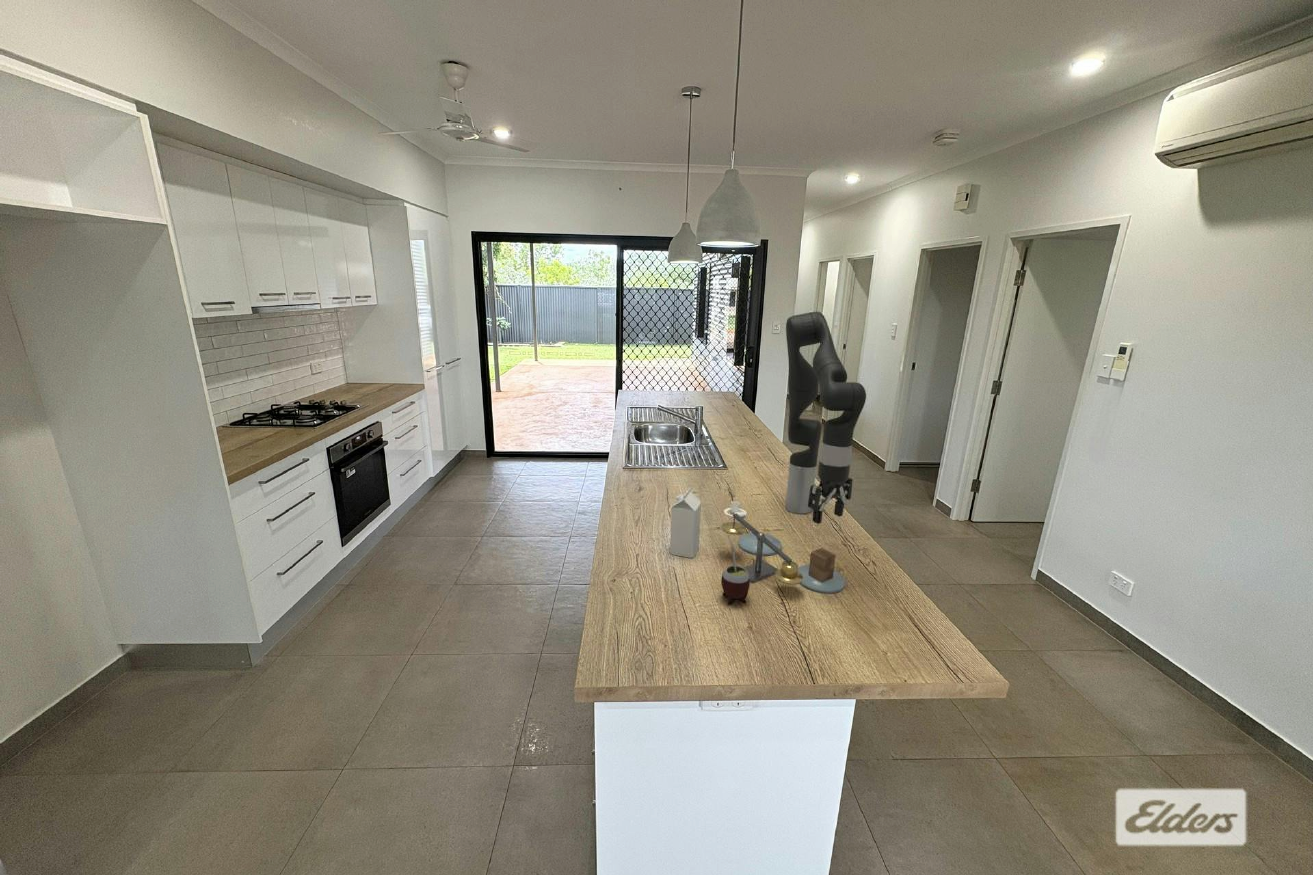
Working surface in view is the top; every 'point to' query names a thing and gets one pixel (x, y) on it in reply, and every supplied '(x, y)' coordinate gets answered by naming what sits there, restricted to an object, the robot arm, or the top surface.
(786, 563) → the balance
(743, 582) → the mate gourd
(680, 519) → the milk carton
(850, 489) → the robot arm
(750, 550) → the pale blue flat disc
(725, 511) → the teacup and saucer
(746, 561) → the top surface
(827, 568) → the walnut block
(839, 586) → the dish
